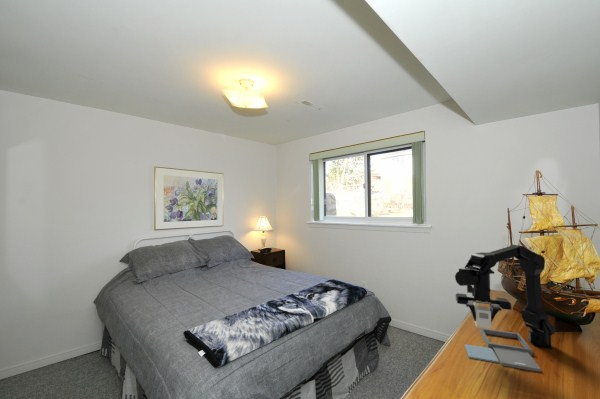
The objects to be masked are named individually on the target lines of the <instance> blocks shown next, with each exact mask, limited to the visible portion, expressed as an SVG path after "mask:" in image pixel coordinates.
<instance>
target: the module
mask: <svg viewBox="0 0 600 399" xmlns="http://www.w3.org/2000/svg"><path fill="white" fill-rule="evenodd" d="M474 306H475V315H476V321H474V320H473V321H474V322H473V323H474V325H475V326H476V328H483V329H490V330H492V322H491V311H490V307H488V306H480V305H474Z"/></svg>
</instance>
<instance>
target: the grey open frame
mask: <svg viewBox="0 0 600 399" xmlns="http://www.w3.org/2000/svg"><path fill="white" fill-rule="evenodd" d="M479 332H480V335H481V337H482V338H483V339H482V340H484V343H485V344H486V348H492V350H493V352H494V354H495V355H496V357H497V359H498V361H499V363H500V365H501V366H503V367H505V366H506V367H510V368H517V369H522V370H528V371H532V372H533V371H534V372H539V373H542V368H541V367H540V365H539V364H538V363H537V362H536V361H535V359H534V358H533V357H532V356H533V354H534V353H533V349H532V348H531V346H530V345H529V344H528V343H527V341H526V340H525V339H524V337H522V336H521V333H519V332H513V331H512V332H511V331H503V330H496V329H488V328H481V327H479ZM487 335H490V336H491V335H492V336H497V337H499V336H500V337H503V338H504V337H505V338H512V339H516V340H518V342H519V343H520V344H521V345H522V347H521V346H516V345H507V344H502V343H501V344H500V343H495V342H490V340H489V338H488V336H487Z"/></svg>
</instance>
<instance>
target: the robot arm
mask: <svg viewBox="0 0 600 399" xmlns="http://www.w3.org/2000/svg"><path fill="white" fill-rule="evenodd" d="M513 258H515V259H516V260H518V263H519V266H520V268H521V270H522V271H523V272H524V278H525V279H524V280H525V291H526V306H525V308H522V309H521V319H523V322H524V325H525V327H527V328H529V330H528V336H527V337H528V341H529V342H530V343H531V345H532V346H533V347H535V348H542V349H549V350H554V347H553V346H552V336H553V335H555V334H556V327H554V326H553V324H551V322H550V320H549V315H548V313H547V312H546V311H545V309H544V308H543V298H542V284H541V274H542V272H543V271H544V270H545V265H546V264H545V263H546V259H545V257H544V256H542V255H541V254H539V253H536V252H534V251H532V250H530V249H528V248H527V247H525V246H523V245H518V244H511V245H508V246H506V247H503V248H499V249H496V250H492V251H490V252H474V253H472V254H471V256H470V258H469V260H468V261H467V262H466V264H465V266H464V268H458V271H457V272H456V273H455V275H454V278H455V282H456V283H457V285H459V286H460V287H465V286H466V291H467V294H469V293H470V294H471V296H472V297H471V296H470V297H469V296H468V295H467V294H466V293H458V292H457V293H456V294H455V301H456V304H460V305H465V306H466V307H467V308H469V310H470V312H471V315H472V318H473V321H476V315H475V306H476V305H474V303H475V304H476V303H477V304H484V305H485V304H487V305H489V310H490V311H491V323H492V322H493V321H494V319H495V317H496V315H497V314H498V313H499V312H502V310H507V311H509V310H510V311H511V310H513V309H512V308H513V307H512V303H511V302H510V301H509V300H508V299H507V298H502V297H495V299H491V276H490V275H492V274H493V275H494V274H495V271H494V270H493V269H492V268H494V267H495V266H496V265H497V263H499V262H503V261H505V260H510V259H513Z"/></svg>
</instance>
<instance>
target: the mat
mask: <svg viewBox="0 0 600 399" xmlns="http://www.w3.org/2000/svg"><path fill="white" fill-rule="evenodd" d="M463 346H464V348H465V351H466V354H467V357H468V359H473V360H474V359H475V360H480V361H486V362H491V363H497V364H499V363H500V362H499V360H498V358H497V356H496V354H495V352H494V351H493V349H492V348H488V347H487V346H486V347H485V346H479V345H473V344H472V345H471V344H466V343H464V345H463Z"/></svg>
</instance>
